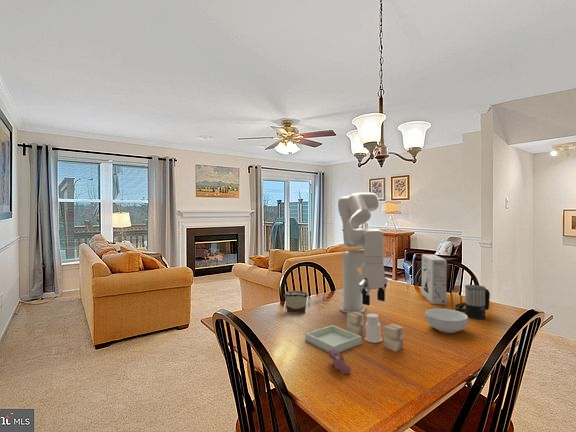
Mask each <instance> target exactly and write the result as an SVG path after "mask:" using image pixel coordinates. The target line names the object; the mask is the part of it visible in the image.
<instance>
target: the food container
mask: <svg viewBox="0 0 576 432" xmlns="http://www.w3.org/2000/svg"><path fill="white" fill-rule="evenodd" d="M283 295H284V297H283V298H285V307H286V308H285V309H286V313H287V314H306V310H307V309H306V307H307V301H308V300H307V299H308V298H309V296H308V293H307V292H305V291H302V290H291V291H285V294H283Z"/></svg>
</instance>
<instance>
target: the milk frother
mask: <svg viewBox="0 0 576 432" xmlns="http://www.w3.org/2000/svg"><path fill="white" fill-rule="evenodd" d="M464 287H465V289H464V290H465V295H464V296H465V300H464V302H460V303H457V304H456V305H455V310H456V311H459V312H464V314H466V315H467V317H468V319H473V320H474V319H475V320H485V319H486V318H487V316H486V310H487V311H488V310H489V309H490V298H491V294H490V291H489V289H487V288H486V286H484V285H483V286H482V285H479V284H478V285H477V284H465V285H464Z"/></svg>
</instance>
